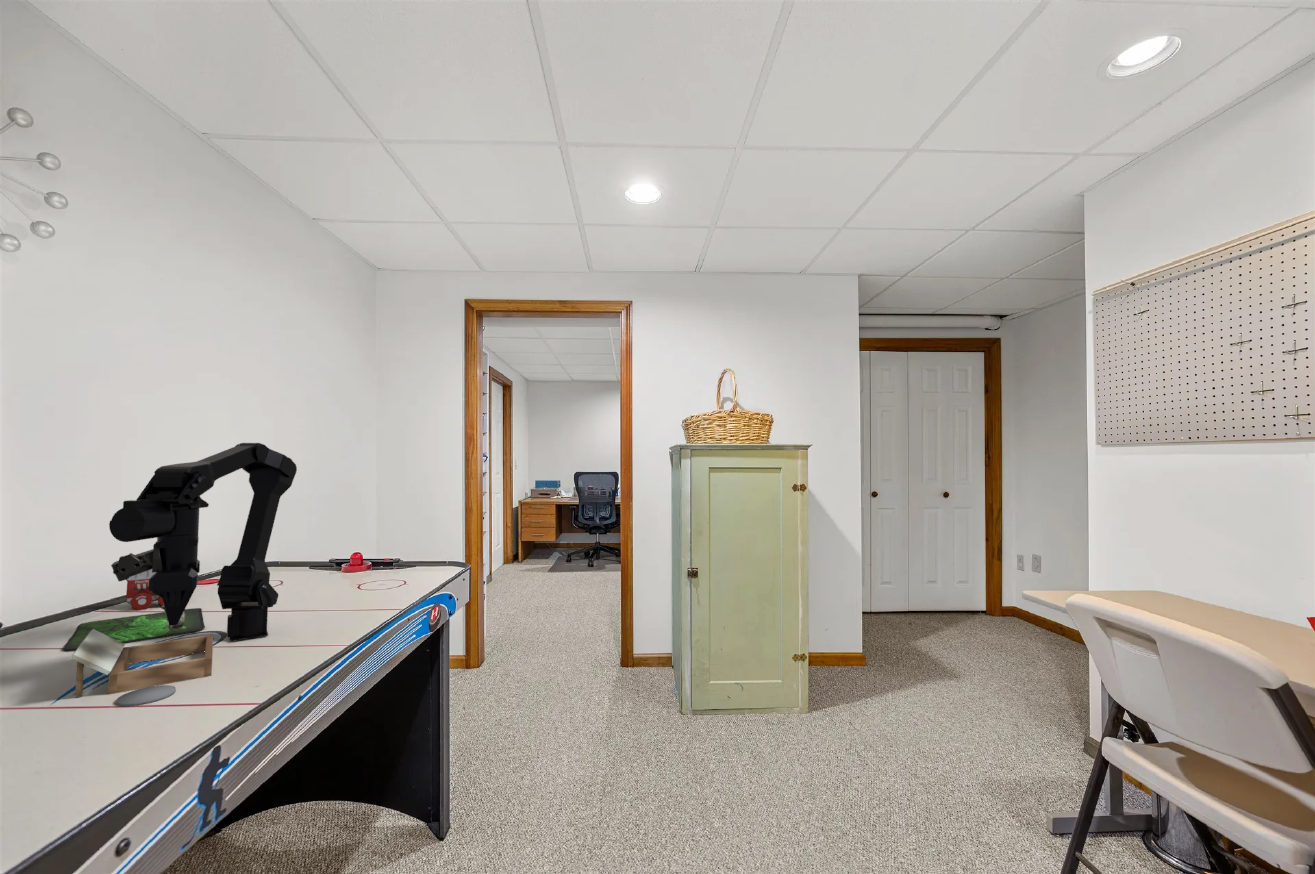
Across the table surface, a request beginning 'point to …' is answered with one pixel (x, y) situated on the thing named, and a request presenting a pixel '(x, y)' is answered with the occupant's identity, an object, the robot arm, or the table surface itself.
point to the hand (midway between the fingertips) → (174, 620)
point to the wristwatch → (180, 623)
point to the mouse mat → (137, 628)
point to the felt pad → (146, 695)
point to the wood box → (107, 651)
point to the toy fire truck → (141, 591)
